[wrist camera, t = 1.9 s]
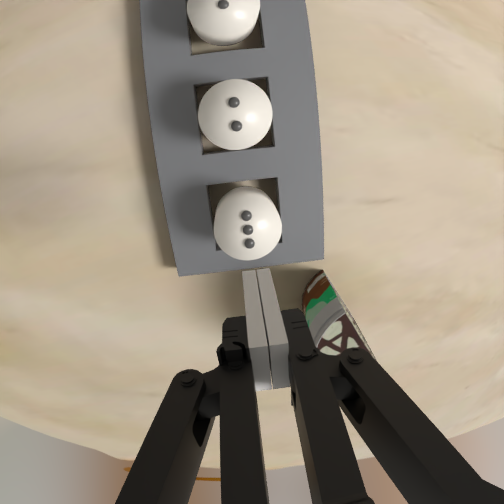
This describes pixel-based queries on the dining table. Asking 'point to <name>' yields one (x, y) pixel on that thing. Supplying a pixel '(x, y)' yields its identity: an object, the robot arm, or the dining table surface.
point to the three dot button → (247, 223)
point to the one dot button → (223, 19)
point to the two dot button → (235, 114)
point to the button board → (234, 161)
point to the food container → (330, 318)
